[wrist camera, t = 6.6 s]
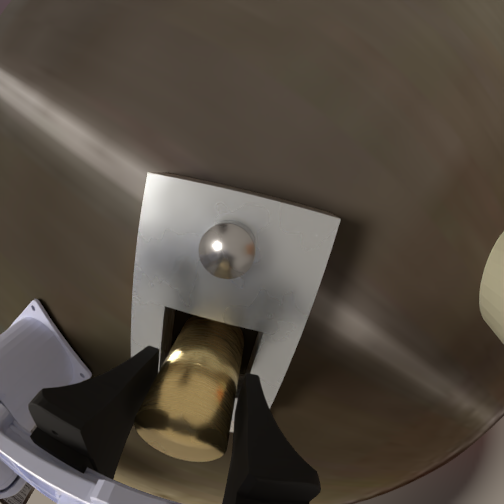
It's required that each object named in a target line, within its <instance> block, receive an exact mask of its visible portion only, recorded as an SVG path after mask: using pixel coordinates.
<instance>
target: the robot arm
mask: <svg viewBox="0 0 504 504" xmlns="http://www.w3.org/2000/svg"><path fill="white" fill-rule="evenodd" d="M159 352H160V349H158V348H155V347H152V346H147V347H145V348H144V349H143V350H141V351H140V352H138V353H137V354H136V355H134V356H133V357H131V358H130V359H128V360H127V361H125V362H124V363H122V364H120V365H119V366H117V367H115V368H113V369H111V370H110V371H108V372H106V373H104V374H102V375H99V376H97V377H95V378H92V379H89V378H90V377H91V376H92V374H91V372H90V370H89V369H88V368H87V367H86V365H85V364H84V363H83V362H82V360H81V359H80V358H79V357H78V355H77V354H76V353H75V352H74V350H73V349H72V348H71V346H70V345H69V344H68V342H67V341H66V340H65V338H64V337H63V336H62V334H61V333H60V331H59V330H58V329H57V327H56V326H55V324H54V323H53V321H52V320H51V318H50V317H49V315H48V314H47V312H46V311H45V309H44V307H43V306H42V304H41V303H40V301H39V300H38V299H34V300H33V301H32V302H31V303H30V304H29V305H28V306H27V307H26V309H25V310H24V311H23V312H22V313H21V314H20V315H19V317H18V318H17V319H16V320H15V321H14V323H13V324H12V325H11V326H10V327H9V329H7V330H6V331H5V332H3V333H2V334H1V335H0V499H3V498H8V497H10V496H13V495H15V494H17V493H18V492H19V491H20V490H21V489H22V488H23V487H24V485H25V483H26V482H28V483H29V484H30V485H32V486H33V487H34V488H36V489H37V490H38V491H40V492H41V493H43V494H44V495H45V496H47V497H48V498H50V499H51V500H52V501H54V502H55V503H57V504H181V503H178V502H174V501H170V500H167V499H164V498H161V497H157V496H154V495H151V494H148V493H146V492H143V491H140V490H137V489H135V488H132V487H129V486H127V485H125V484H122V483H120V482H117V481H115V480H113V478H114V475H115V471H116V468H117V465H118V462H119V459H120V456H121V453H122V451H123V448H124V445H125V443H126V440H127V438H128V435H129V433H130V430H131V428H132V426H133V424H134V419H135V417H136V415H137V413H138V411H139V409H140V407H141V405H142V403H143V401H144V399H145V397H146V395H147V393H148V391H149V390H150V388H151V386H152V384H153V382H154V380H155V378H156V376H157V374H158V367H159ZM87 379H89V380H87ZM84 380H86V381H84ZM82 381H83V382H82ZM35 425H36V426H37V427H36V429H35V430H34V431H33V433H31V432H30V431H31V430H32V429H33V427H34V426H35ZM320 490H321V487H320V481H319V477H318V474H317V471H316V470H314V469H313V468H312V467H311V466H310V465H309V464H308V463H306V462H305V461H304V460H303V459H302V458H301V457H300V455H299V454H298V453H297V452H296V451H295V450H294V448H293V447H292V446H291V445H290V444H289V442H288V441H287V440H286V438H285V437H284V435H283V434H282V432H281V430H280V429H279V427H278V425H277V424H276V422H275V420H274V418H273V416H272V414H271V411H270V409H269V407H268V404H267V402H266V399H265V396H264V393H263V390H262V386H261V382H260V377H259V376H258V375H255V374H250V373H246V375H245V378H244V381H243V384H242V387H241V390H240V393H239V396H238V399H237V405H236V410H235V416H234V432H233V449H232V457H231V463H230V468H229V473H228V479H227V484H226V489H225V494H224V498H223V503H222V504H309V502H310V501H311V500H312V499H313V498H314V497H316V496H317V495H318V494H319V493H320Z"/></svg>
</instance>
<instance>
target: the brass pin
mask: <svg viewBox="0 0 504 504" xmlns="http://www.w3.org/2000/svg"><path fill="white" fill-rule="evenodd" d="M243 348H244V336H243V333H242V331H241V329H240V327H238V326H234V325H230V324H226V323H223V322H219V321H215V320H211V319H207V318H204V317H200V316H197V315H193V316H192V317H190V318H189V319H188V320H187V321H186V323H185V324H184V326H183V328H182V330H181V332H180V333H179V335H178V337H177V339H176V341H175V343H174V344H173V346H172V348H171V350H170V352H169V354H168V356H167V357H166V359H165V361H164V363H163V365H162V367H161V369H160V371H159V372H158V374H157V376H156V378H155V380H154V382H153V384H152V386H151V388H150V390H149V391H148V393H147V395H146V397H145V399H144V401H143V403H142V405H141V407H140V409H139V411H138V413H137V415H136V417H135V419H134V425H135V428H136V430H137V432H138V434H139V435H140V436H141V437H142V438H143V440H144V441H146V442H147V443H148V444H149V445H151V446H152V447H153V448H155V449H157V450H158V451H160V452H162V453H164V454H166V455H169V456H171V457H174V458H178V459H181V460H186V461H193V462H206V461H212V460H215V459H218V458H220V457H221V456H223V455H224V454H225V452H226V450H227V445H228V439H229V433H230V427H231V421H232V415H233V409H234V403H235V397H236V391H237V385H238V379H239V373H240V366H241V360H242V354H243Z"/></svg>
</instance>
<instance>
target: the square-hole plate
mask: <svg viewBox="0 0 504 504" xmlns="http://www.w3.org/2000/svg"><path fill="white" fill-rule="evenodd" d="M340 220H341V219H340V218H338V217H337V216H335V215H334V214H332V213H330V212H328V211H324V210H321V209H318V208H314V207H310V206H307V205H303V204H300V203H296V202H292V201H289V200H285V199H281V198H277V197H273V196H269V195H265V194H261V193H257V192H253V191H249V190H245V189H241V188H237V187H232V186H228V185H223V184H219V183H215V182H210V181H205V180H201V179H196V178H191V177H186V176H181V175H176V174H171V173H148V175H147V180H146V185H145V191H144V197H143V203H142V209H141V216H140V223H139V231H138V239H137V247H136V257H135V267H134V279H133V294H132V315H131V357H133V356H134V355H136V354H137V353H138V352H140V351H141V350H143V349H144V348H145V347H147V346H152V347H155V348H158V349H160V352H159V367H158V372H159V371H160V369H161V367H162V365H163V363H164V361H165V359H166V357H167V356H168V354H169V352H170V350H171V343H172V334H173V326H174V318H175V310H179V311H182V312H186V313H189V314H193V315H197V316H200V317H204V318H207V319H211V320H215V321H219V322H223V323H226V324H230V325H234V326H238V327H243V328H247V329H251V330H255V331H258V334H257V337H256V340H255V344H254V347H253V350H252V353H251V356H250V359H249V363H248V366H247V369H246V372H245V375H246V373H250V374H255V375H258V376H259V377H260V382H261V386H262V390H263V393H264V396H265V399H266V402H267V404H268V407H269V409H270V407H271V405H272V403H273V401H274V399H275V397H276V394H277V392H278V390H279V388H280V385H281V383H282V381H283V378H284V376H285V374H286V371H287V369H288V367H289V364H290V362H291V359H292V357H293V355H294V352H295V350H296V347H297V345H298V342H299V340H300V337H301V335H302V332H303V329H304V327H305V324H306V322H307V319H308V316H309V314H310V311H311V308H312V305H313V303H314V300H315V297H316V294H317V291H318V289H319V286H320V283H321V280H322V277H323V274H324V271H325V268H326V265H327V262H328V259H329V256H330V253H331V250H332V246H333V243H334V240H335V237H336V233H337V230H338V227H339V223H340ZM245 375H243V374H239V379H238V385H237V391H236V397H235V403H234V409H233V415H232V421H231V427H230V432H234V416H235V410H236V405H237V399H238V396H239V393H240V390H241V387H242V384H243V381H244V378H245Z"/></svg>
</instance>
